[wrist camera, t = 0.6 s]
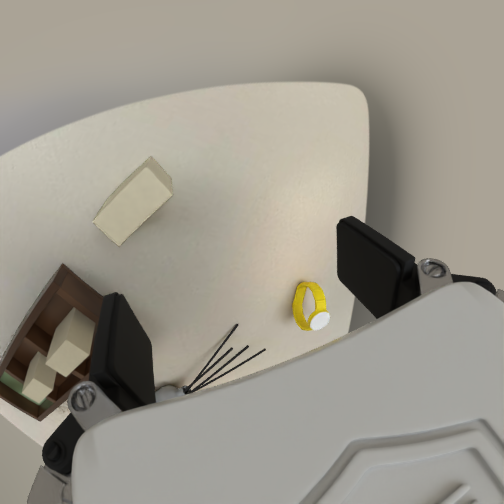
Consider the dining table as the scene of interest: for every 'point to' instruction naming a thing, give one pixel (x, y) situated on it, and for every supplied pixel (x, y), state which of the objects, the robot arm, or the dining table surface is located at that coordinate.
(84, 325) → the block
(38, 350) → the tray
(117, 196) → the cream rectangular block
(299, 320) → the watch
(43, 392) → the block
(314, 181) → the dining table surface
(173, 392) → the reed diffuser
